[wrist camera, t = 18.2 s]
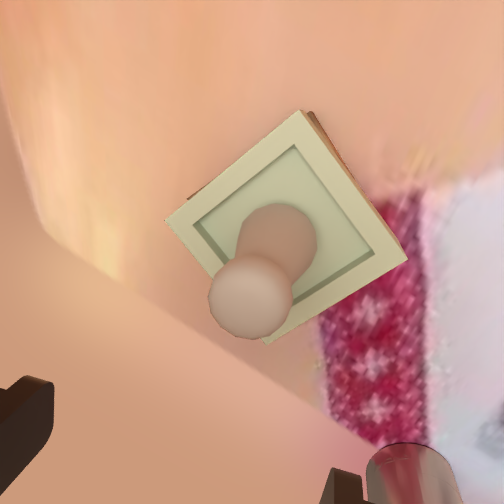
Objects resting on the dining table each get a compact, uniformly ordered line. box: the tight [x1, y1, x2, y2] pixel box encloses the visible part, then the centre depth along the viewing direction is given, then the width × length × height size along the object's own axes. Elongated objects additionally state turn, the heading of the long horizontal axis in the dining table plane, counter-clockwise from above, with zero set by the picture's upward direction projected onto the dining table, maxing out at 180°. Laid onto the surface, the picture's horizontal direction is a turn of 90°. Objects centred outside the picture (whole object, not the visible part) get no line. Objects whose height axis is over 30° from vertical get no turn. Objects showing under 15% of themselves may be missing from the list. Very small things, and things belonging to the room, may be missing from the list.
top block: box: [164, 110, 408, 345], centre depth 33 cm, size 13×13×6 cm
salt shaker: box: [208, 203, 317, 340], centre depth 26 cm, size 6×6×13 cm
